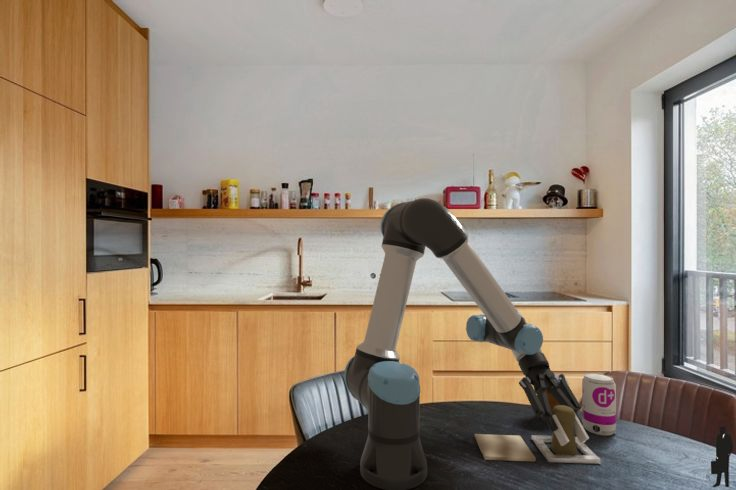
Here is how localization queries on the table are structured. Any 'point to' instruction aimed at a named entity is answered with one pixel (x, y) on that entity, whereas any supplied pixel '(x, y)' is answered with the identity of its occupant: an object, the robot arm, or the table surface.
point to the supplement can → (599, 404)
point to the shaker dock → (586, 458)
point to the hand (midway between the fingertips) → (575, 441)
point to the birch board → (504, 447)
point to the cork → (566, 421)
